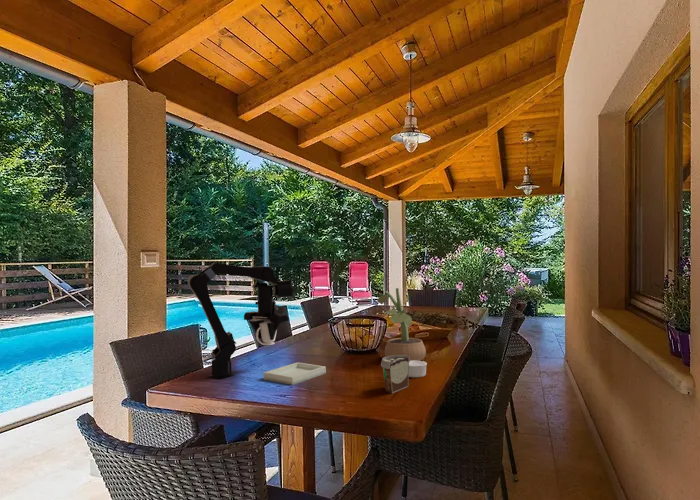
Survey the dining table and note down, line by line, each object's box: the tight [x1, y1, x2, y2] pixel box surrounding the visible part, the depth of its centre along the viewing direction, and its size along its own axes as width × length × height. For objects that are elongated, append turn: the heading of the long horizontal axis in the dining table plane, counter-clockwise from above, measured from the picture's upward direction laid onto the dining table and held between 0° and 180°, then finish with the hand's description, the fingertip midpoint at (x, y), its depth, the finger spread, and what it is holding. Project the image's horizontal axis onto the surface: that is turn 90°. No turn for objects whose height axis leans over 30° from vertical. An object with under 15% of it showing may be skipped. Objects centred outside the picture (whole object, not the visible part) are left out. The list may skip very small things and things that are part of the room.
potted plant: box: [376, 287, 427, 361], centre depth 194 cm, size 22×18×30 cm
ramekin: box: [409, 360, 428, 378], centre depth 171 cm, size 9×9×4 cm
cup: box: [255, 321, 278, 346], centre depth 183 cm, size 7×10×8 cm
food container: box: [380, 355, 410, 394], centre depth 155 cm, size 12×6×10 cm, turn 141°
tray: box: [263, 361, 327, 386], centre depth 173 cm, size 18×14×2 cm
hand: (266, 339), depth 183 cm, fingers closed on cup, 6 cm apart
